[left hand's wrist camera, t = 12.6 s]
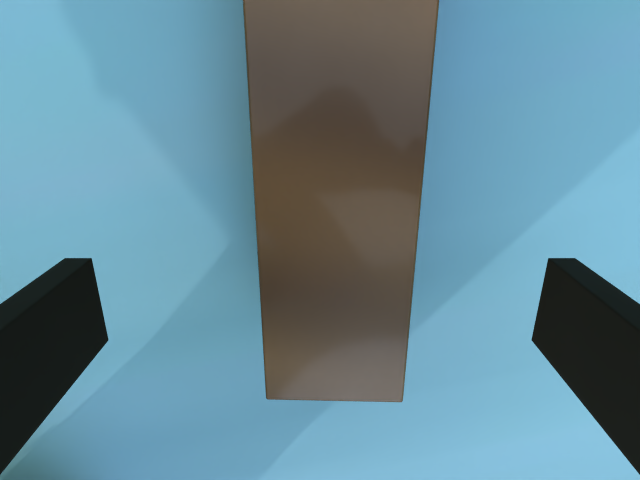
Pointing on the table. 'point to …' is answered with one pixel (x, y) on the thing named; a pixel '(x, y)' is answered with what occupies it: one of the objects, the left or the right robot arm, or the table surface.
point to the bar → (338, 188)
